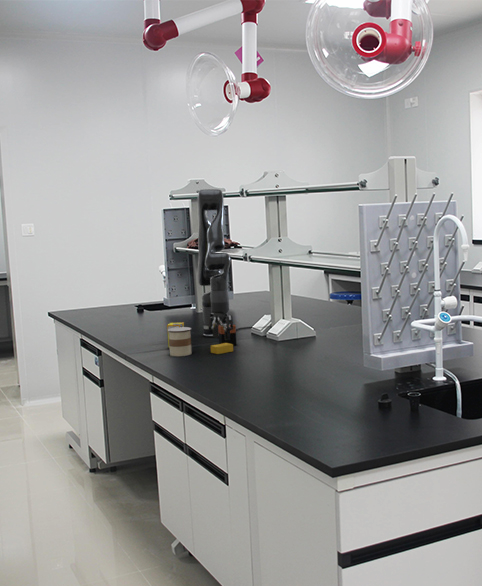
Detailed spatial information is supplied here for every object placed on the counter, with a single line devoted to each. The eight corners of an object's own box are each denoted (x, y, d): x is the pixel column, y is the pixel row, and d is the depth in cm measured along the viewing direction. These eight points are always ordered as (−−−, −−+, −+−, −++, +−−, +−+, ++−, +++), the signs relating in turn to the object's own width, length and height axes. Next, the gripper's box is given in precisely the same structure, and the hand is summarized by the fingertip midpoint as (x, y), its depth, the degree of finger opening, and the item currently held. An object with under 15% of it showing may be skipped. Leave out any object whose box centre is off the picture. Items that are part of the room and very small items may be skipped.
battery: (218, 345, 311) (217, 323, 310) (233, 343, 314) (232, 321, 313) (222, 347, 307) (221, 324, 306) (236, 345, 310) (235, 322, 309)
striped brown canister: (184, 350, 301) (183, 326, 300) (197, 353, 294) (195, 328, 293) (164, 354, 295) (163, 329, 294) (176, 357, 288) (175, 332, 286)
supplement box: (185, 346, 311) (184, 322, 310) (181, 349, 305) (180, 324, 304) (172, 346, 311) (170, 322, 310) (168, 349, 306) (166, 324, 304)
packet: (226, 349, 301) (226, 342, 301) (233, 351, 297) (233, 344, 297) (210, 352, 296) (210, 345, 295) (217, 354, 292) (217, 347, 292)
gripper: (237, 300, 291) (238, 339, 293) (217, 298, 302) (219, 335, 303) (222, 302, 286) (223, 342, 288) (202, 300, 297) (204, 338, 298)
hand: (221, 338), depth 296 cm, fingers open, 8 cm apart
